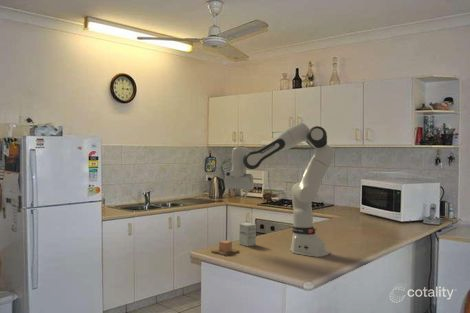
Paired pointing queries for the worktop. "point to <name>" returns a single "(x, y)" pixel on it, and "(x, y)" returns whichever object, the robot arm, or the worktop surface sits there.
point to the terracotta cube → (225, 246)
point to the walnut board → (225, 252)
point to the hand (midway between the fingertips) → (239, 196)
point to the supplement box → (247, 234)
